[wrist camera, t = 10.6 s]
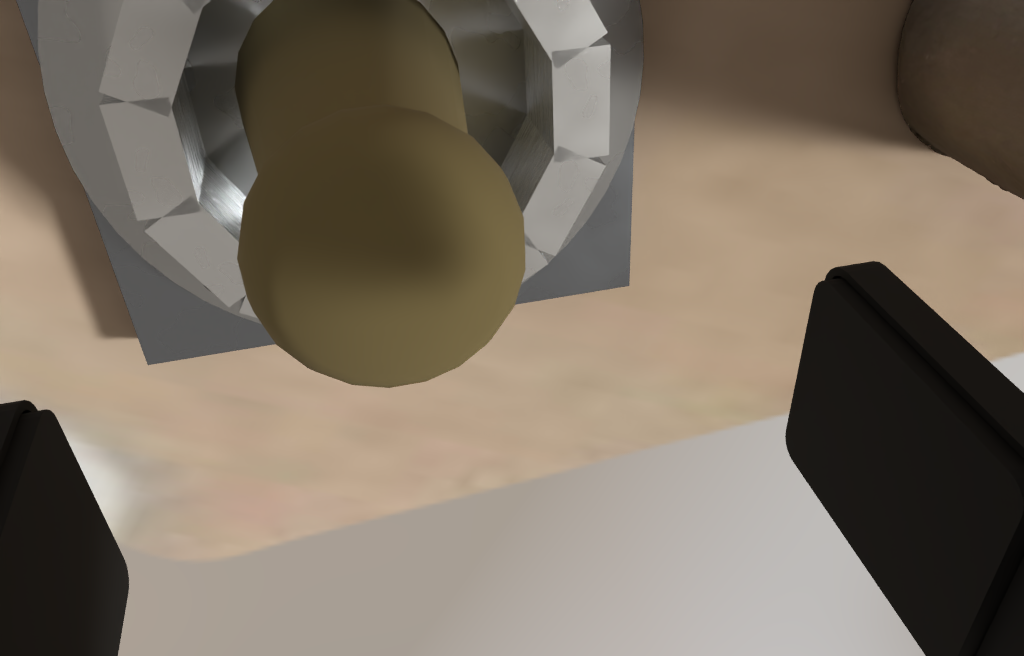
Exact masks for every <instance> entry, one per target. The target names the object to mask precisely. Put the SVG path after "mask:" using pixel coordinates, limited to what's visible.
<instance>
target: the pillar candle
mask: <svg viewBox="0 0 1024 656" xmlns="http://www.w3.org/2000/svg"><path fill="white" fill-rule="evenodd" d="M897 83H898V95H899V103H900V105H901V110H902V114H903V116H904V119H905V121H906V123H907V124H909V126H910V130H911V131H912V132H913V133H914V134H915V135H916V136H917V137H918V138H919V139H920V141H921V142H923V143H924V144H925V145H930V146H931V149H934V151H935V152H937V153H939V154H941V155H945V156H949V157H951V158H953V159H955V160H956V161H958V162H960V163H961V164H963V165H965V166H966V167H968V168H970V169H972V170H973V171H975V172H977V173H978V174H980V175H982V176H984V177H985V178H986V179H987V180H988V181H990V182H991V183H993V184H995V185H998V186H999V187H1000V188H1001V189H1002V190H1005V191H1009V192H1011V193H1012V194H1014V195H1017V196H1018V197H1020V198H1022V199H1024V0H914V1H913V3H912V4H911V8H910V10H909V13H908V15H907V18H906V22H905V24H904V27H903V30H902V40H901V43H900V47H899V53H898V79H897Z"/></svg>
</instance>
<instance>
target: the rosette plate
mask: <svg viewBox="0 0 1024 656" xmlns="http://www.w3.org/2000/svg"><path fill="white" fill-rule="evenodd" d="M16 1H17V4H18V6H19V9H20V12H21V15H22V18H23V20H24V23H25V26H26V29H27V31H28V34H29V37H30V40H31V42H32V45H33V48H34V51H35V54H36V56H37V59H38V62H39V65H40V67H41V73H42V80H43V87H44V92H45V96H46V99H47V103H48V106H49V110H50V113H51V116H52V120H53V123H54V127H55V130H56V133H57V135H58V137H59V139H60V142H61V144H62V146H63V148H64V151H65V153H66V155H67V158H68V160H69V162H70V164H71V167H72V169H73V170H74V172H75V174H76V175H77V177H78V178H79V180H80V182H81V183H82V185H83V187H84V189H85V192H86V195H87V198H88V200H89V203H90V206H91V209H92V212H93V214H94V217H95V220H96V223H97V225H98V228H99V231H100V234H101V236H102V239H103V242H104V245H105V248H106V250H107V253H108V256H109V259H110V261H111V264H112V267H113V270H114V273H115V275H116V278H117V281H118V284H119V286H120V289H121V292H122V295H123V297H124V300H125V303H126V306H127V309H128V311H129V314H130V317H131V320H132V322H133V325H134V328H135V331H136V334H137V336H138V339H139V342H140V345H141V347H142V350H143V353H144V356H145V358H146V361H147V364H148V365H151V364H157V363H163V362H169V361H175V360H181V359H188V358H194V357H200V356H206V355H212V354H218V353H224V352H230V351H236V350H242V349H248V348H254V347H260V346H266V345H272V344H276V343H275V342H274V341H273V339H272V338H271V336H270V335H269V333H268V332H267V331H266V329H265V328H264V326H263V325H262V323H261V322H260V320H259V319H258V318H257V316H256V315H255V313H254V312H253V310H252V307H251V305H250V303H249V301H248V299H247V295H246V292H245V288H244V284H243V280H242V276H241V272H240V268H239V264H238V261H237V255H238V246H239V238H240V229H241V221H242V212H243V204H244V201H245V199H246V197H247V195H248V193H249V191H250V189H251V187H252V185H253V183H254V181H255V179H256V178H257V176H258V173H257V170H256V167H255V163H254V160H253V157H252V153H251V150H250V146H249V143H248V140H247V136H246V133H245V130H244V126H243V123H242V119H241V114H240V110H239V106H238V101H237V97H236V93H235V88H234V87H235V78H236V68H237V59H238V52H239V50H240V47H241V45H242V43H243V41H244V39H245V37H246V35H247V33H248V31H249V29H250V27H251V24H252V22H253V20H254V19H255V18H256V17H257V16H258V15H259V14H260V13H261V12H262V11H263V10H264V9H265V8H266V7H267V6H268V5H269V4H270V3H271V2H272V1H273V0H16ZM417 1H419V2H420V3H421V4H422V5H423V6H424V7H425V8H426V9H427V11H428V12H429V13H430V14H431V15H432V17H433V18H434V19H435V20H436V21H437V22H438V24H439V25H440V26H441V27H442V28H443V29H444V31H445V33H446V36H447V38H448V40H449V43H450V45H451V48H452V50H453V53H454V55H455V57H456V60H457V62H458V68H459V75H460V82H461V89H462V96H463V103H464V110H465V117H466V124H467V131H468V134H469V135H470V136H472V137H473V138H474V139H475V140H476V141H477V142H478V143H479V144H480V145H481V146H482V147H483V148H484V150H485V151H486V152H487V153H488V154H489V155H490V156H491V157H492V158H493V159H494V161H495V162H496V163H497V164H498V165H499V166H500V167H501V169H502V170H503V172H504V174H505V175H506V177H507V179H508V180H509V183H510V185H511V188H512V190H513V192H514V195H515V197H516V200H517V202H518V205H519V207H520V209H521V212H522V214H523V217H524V235H525V273H524V276H523V280H522V283H521V286H520V289H519V293H518V296H517V299H516V303H515V304H521V303H527V302H533V301H540V300H546V299H552V298H558V297H564V296H570V295H576V294H582V293H588V292H594V291H600V290H606V289H612V288H618V287H625V286H629V276H630V245H631V214H632V183H633V152H634V120H635V116H636V111H637V107H638V102H639V98H640V92H641V82H642V71H643V61H644V50H643V20H642V14H641V7H640V1H639V0H417Z"/></svg>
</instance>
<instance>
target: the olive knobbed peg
mask: <svg viewBox="0 0 1024 656" xmlns="http://www.w3.org/2000/svg"><path fill="white" fill-rule="evenodd" d="M234 88H235V93H236V97H237V101H238V106H239V110H240V114H241V119H242V123H243V126H244V130H245V133H246V136H247V140H248V143H249V146H250V150H251V153H252V157H253V160H254V163H255V167H256V170H257V173H258V176H257V178H256V179H255V181H254V183H253V185H252V187H251V189H250V191H249V193H248V195H247V197H246V199H245V201H244V204H243V212H242V221H241V229H240V238H239V246H238V255H237V261H238V264H239V268H240V272H241V276H242V280H243V284H244V288H245V292H246V295H247V299H248V301H249V303H250V305H251V307H252V310H253V312H254V313H255V315H256V316H257V318H258V319H259V320H260V322H261V323H262V325H263V326H264V328H265V329H266V331H267V332H268V333H269V335H270V336H271V338H272V339H273V341H274V342H275V343H276V345H278V346H279V347H280V348H282V349H283V350H284V351H286V352H287V353H288V354H290V355H291V356H293V357H294V358H295V359H297V360H298V361H299V362H301V363H302V364H303V365H305V366H306V367H307V368H309V369H311V370H314V371H316V372H318V373H321V374H324V375H327V376H329V377H332V378H335V379H338V380H340V381H343V382H346V383H349V384H351V385H361V386H374V387H386V388H391V387H396V386H402V385H408V384H414V383H420V382H425V381H428V380H430V379H432V378H435V377H437V376H439V375H441V374H443V373H446V372H448V371H450V370H452V369H455V368H457V367H459V366H460V365H462V364H463V363H464V362H465V361H467V360H468V359H469V358H470V357H471V356H473V355H474V354H475V353H476V352H478V351H479V350H480V349H481V348H483V347H484V346H485V345H486V344H487V343H488V342H489V341H490V340H491V339H492V337H493V336H494V335H495V333H496V332H497V330H498V329H499V327H500V326H501V325H502V323H503V322H504V320H505V319H506V317H507V316H508V314H509V313H510V312H511V310H512V309H513V307H514V306H515V303H516V299H517V296H518V293H519V289H520V286H521V283H522V280H523V276H524V273H525V235H524V217H523V214H522V212H521V209H520V207H519V205H518V202H517V200H516V197H515V195H514V192H513V190H512V188H511V185H510V183H509V180H508V179H507V177H506V175H505V174H504V172H503V170H502V169H501V167H500V166H499V165H498V164H497V163H496V162H495V161H494V159H493V158H492V157H491V156H490V155H489V154H488V153H487V152H486V151H485V150H484V148H483V147H482V146H481V145H480V144H479V143H478V142H477V141H476V140H475V139H474V138H473V137H472V136H470V135H469V134H468V131H467V124H466V117H465V110H464V103H463V96H462V89H461V82H460V75H459V68H458V62H457V60H456V57H455V55H454V53H453V50H452V48H451V45H450V43H449V40H448V38H447V36H446V33H445V31H444V29H443V28H442V27H441V26H440V25H439V24H438V22H437V21H436V20H435V19H434V18H433V17H432V15H431V14H430V13H429V12H428V11H427V9H426V8H425V7H424V6H423V5H422V4H421V3H420V2H419V1H417V0H273V1H272V2H271V3H270V4H269V5H268V6H267V7H266V8H265V9H264V10H263V11H262V12H261V13H260V14H259V15H258V16H257V17H256V18H255V19H254V20H253V22H252V24H251V27H250V29H249V31H248V33H247V35H246V37H245V39H244V41H243V43H242V45H241V47H240V50H239V52H238V59H237V68H236V78H235V87H234Z"/></svg>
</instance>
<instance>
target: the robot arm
mask: <svg viewBox="0 0 1024 656" xmlns="http://www.w3.org/2000/svg"><path fill="white" fill-rule="evenodd" d="M785 437H786V445H787V449H788V452H789V454H790V457H791V459H792V460H793V462H794V464H795V465H796V466H797V468H798V469H799V471H800V472H801V474H802V475H803V477H804V478H805V480H806V481H807V483H808V484H809V485H810V487H811V488H812V490H813V491H814V493H815V494H816V496H817V497H818V499H819V500H820V501H821V503H822V504H823V506H824V507H825V509H826V510H827V511H828V513H829V515H830V516H831V518H832V519H833V521H834V522H835V523H836V525H837V526H838V528H839V529H840V531H841V532H842V534H843V535H844V537H845V538H846V540H847V541H848V543H849V544H850V545H851V547H852V548H853V550H854V551H855V553H856V554H857V556H858V557H859V558H860V560H861V562H862V563H863V564H864V566H865V567H866V569H867V570H868V572H869V573H870V574H871V576H872V578H873V579H874V580H875V582H876V583H877V585H878V586H879V587H880V589H881V591H882V592H883V594H884V595H885V597H886V598H887V599H888V601H889V602H890V604H891V605H892V607H893V608H894V610H895V611H896V613H897V614H898V616H899V617H900V619H901V620H902V622H903V623H904V624H905V626H906V627H907V629H908V630H909V632H910V633H911V635H912V636H913V638H914V639H915V640H916V642H917V643H918V645H919V646H920V648H921V649H922V651H923V652H924V654H925V655H926V656H1024V393H1023V392H1022V391H1021V390H1020V389H1019V388H1017V387H1016V386H1015V385H1014V384H1013V383H1012V382H1011V381H1010V380H1009V379H1008V378H1007V377H1005V376H1004V375H1003V374H1002V373H1001V372H1000V371H999V370H998V369H997V368H996V367H994V366H993V365H992V364H991V363H990V362H989V361H988V360H987V359H986V358H985V357H984V356H983V355H982V354H980V353H979V352H978V351H977V350H976V349H975V348H974V347H973V346H972V345H971V344H970V343H968V342H967V341H966V340H965V339H964V338H963V337H962V336H961V335H960V334H959V333H958V332H957V331H955V330H954V329H953V328H952V327H951V326H950V325H949V324H948V323H947V322H946V321H945V320H943V319H942V318H941V317H940V316H939V315H938V314H937V313H936V312H935V311H934V310H933V309H932V308H930V307H929V306H928V305H927V304H926V303H925V302H924V301H923V300H922V299H921V298H920V297H918V296H917V295H916V294H915V293H914V292H913V291H912V290H911V289H910V288H909V287H908V286H906V285H905V284H904V283H903V282H902V281H901V280H900V279H899V278H898V277H897V276H896V275H895V274H893V273H892V272H891V271H890V270H889V269H888V268H887V267H886V266H885V265H883V264H881V263H880V262H875V261H872V262H866V263H860V264H853V265H847V266H841V267H835V268H833V269H831V270H830V271H829V272H828V274H827V275H826V278H825V281H821V282H819V283H818V284H817V285H816V287H815V290H814V294H813V299H812V304H811V309H810V314H809V319H808V324H807V329H806V334H805V339H804V344H803V349H802V354H801V359H800V364H799V369H798V374H797V379H796V384H795V389H794V394H793V399H792V404H791V409H790V413H789V418H788V423H787V429H786V436H785ZM128 590H129V577H128V570H127V566H126V563H125V560H124V558H123V556H122V553H121V551H120V549H119V547H118V545H117V543H116V541H115V539H114V537H113V535H112V532H111V530H110V528H109V526H108V524H107V522H106V520H105V518H104V516H103V514H102V512H101V510H100V507H99V505H98V503H97V501H96V499H95V497H94V495H93V493H92V491H91V489H90V487H89V485H88V482H87V480H86V478H85V476H84V474H83V472H82V470H81V468H80V466H79V464H78V462H77V460H76V457H75V455H74V453H73V451H72V449H71V447H70V445H69V443H68V441H67V439H66V437H65V435H64V432H63V430H62V428H61V426H60V424H59V422H58V420H57V418H56V416H55V415H54V413H53V412H52V411H50V410H41V411H38V410H37V409H36V407H35V406H34V405H33V404H32V403H31V402H30V401H26V400H23V401H16V402H10V403H4V404H0V656H118V650H119V644H120V639H121V633H122V626H123V621H124V615H125V608H126V603H127V597H128Z"/></svg>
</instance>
